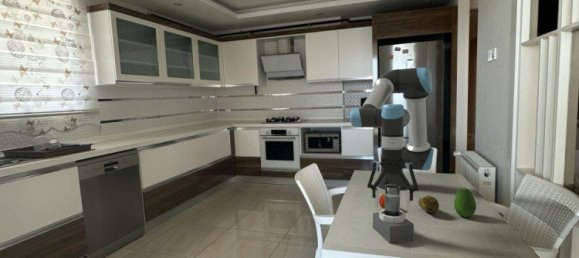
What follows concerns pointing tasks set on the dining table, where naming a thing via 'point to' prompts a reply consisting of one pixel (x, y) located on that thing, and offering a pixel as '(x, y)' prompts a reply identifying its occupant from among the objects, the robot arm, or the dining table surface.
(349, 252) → the dining table surface
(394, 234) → the grey block
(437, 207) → the potato
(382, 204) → the fruit
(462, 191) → the fruit
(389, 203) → the lens
